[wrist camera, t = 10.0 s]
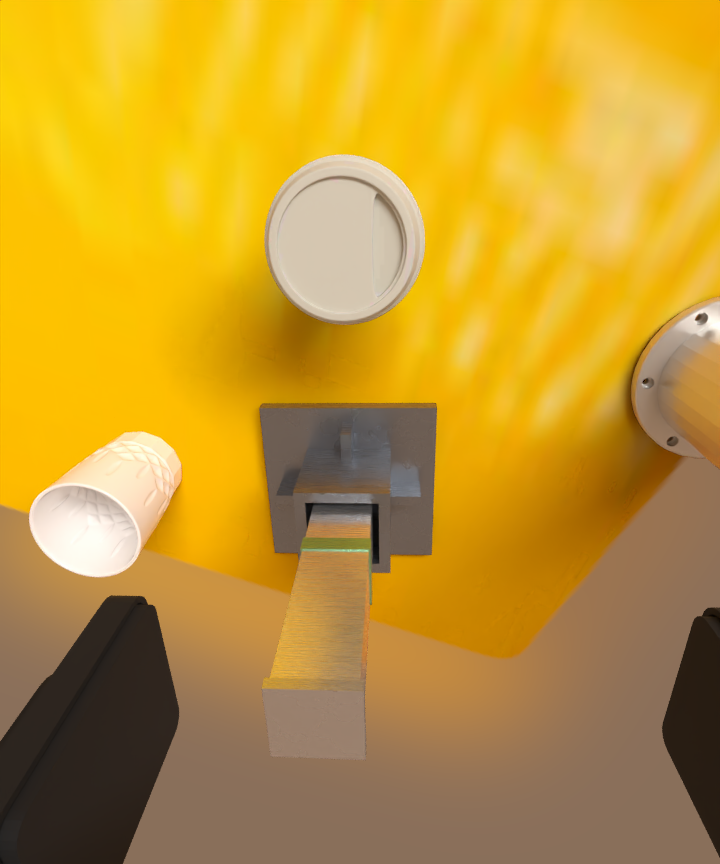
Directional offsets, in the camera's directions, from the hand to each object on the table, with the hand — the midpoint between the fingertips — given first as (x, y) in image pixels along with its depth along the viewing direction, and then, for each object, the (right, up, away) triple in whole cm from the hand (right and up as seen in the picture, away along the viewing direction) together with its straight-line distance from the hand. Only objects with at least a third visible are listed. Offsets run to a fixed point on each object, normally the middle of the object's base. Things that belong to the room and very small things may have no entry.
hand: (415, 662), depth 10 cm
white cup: (-20, +1, +38) cm, 42 cm away
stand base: (-2, 0, +37) cm, 37 cm away
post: (-2, -3, +30) cm, 30 cm away
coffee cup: (-1, +18, +29) cm, 34 cm away
